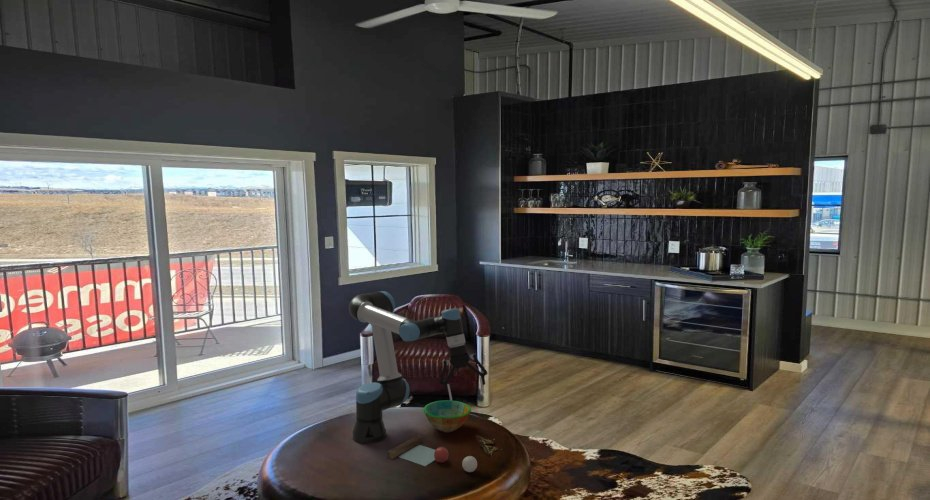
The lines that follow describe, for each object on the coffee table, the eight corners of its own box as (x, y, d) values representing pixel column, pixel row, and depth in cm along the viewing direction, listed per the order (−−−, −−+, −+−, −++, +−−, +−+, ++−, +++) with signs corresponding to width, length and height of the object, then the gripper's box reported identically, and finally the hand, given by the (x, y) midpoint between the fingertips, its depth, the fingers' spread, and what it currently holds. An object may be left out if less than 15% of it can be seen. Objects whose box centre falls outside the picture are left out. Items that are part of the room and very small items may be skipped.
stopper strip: (387, 457, 235) (387, 451, 235) (417, 440, 252) (417, 435, 252) (391, 459, 234) (391, 453, 234) (421, 442, 251) (421, 436, 250)
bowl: (459, 417, 280) (459, 397, 279) (478, 434, 259) (479, 413, 258) (416, 423, 271) (416, 403, 270) (433, 442, 250) (433, 420, 249)
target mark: (398, 457, 236) (398, 456, 236) (419, 445, 248) (419, 444, 248) (425, 466, 228) (425, 465, 228) (445, 453, 240) (445, 453, 240)
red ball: (431, 462, 232) (431, 448, 231) (439, 457, 237) (439, 443, 236) (442, 466, 228) (443, 452, 228) (451, 460, 233) (451, 447, 233)
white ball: (459, 472, 224) (459, 457, 223) (467, 466, 229) (467, 452, 228) (471, 476, 221) (472, 461, 220) (480, 470, 226) (480, 456, 225)
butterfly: (508, 455, 240) (488, 453, 236) (505, 462, 241) (485, 461, 236) (491, 431, 256) (472, 429, 252) (488, 438, 257) (469, 436, 253)
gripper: (427, 352, 231) (437, 404, 229) (486, 340, 232) (497, 391, 230) (428, 351, 238) (438, 401, 236) (485, 338, 239) (496, 388, 237)
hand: (467, 396), depth 233 cm, fingers open, 13 cm apart
